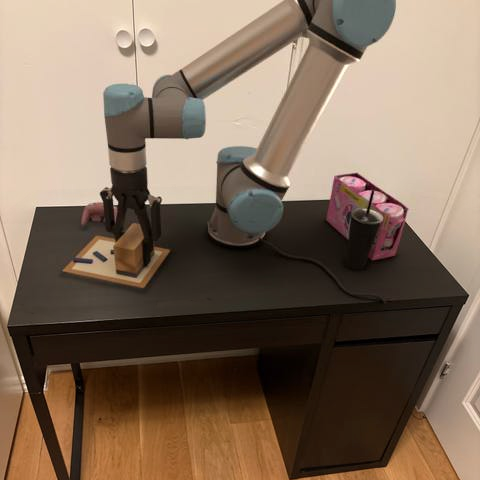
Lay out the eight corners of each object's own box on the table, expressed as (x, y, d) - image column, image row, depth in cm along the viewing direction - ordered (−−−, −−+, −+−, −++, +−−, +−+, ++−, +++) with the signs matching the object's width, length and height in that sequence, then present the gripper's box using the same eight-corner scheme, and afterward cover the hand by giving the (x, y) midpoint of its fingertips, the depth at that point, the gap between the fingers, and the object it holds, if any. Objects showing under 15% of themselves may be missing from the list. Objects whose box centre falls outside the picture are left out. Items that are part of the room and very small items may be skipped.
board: (170, 253, 127) (170, 249, 126) (144, 292, 114) (143, 287, 113) (96, 239, 130) (96, 235, 129) (62, 275, 117) (61, 270, 116)
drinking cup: (372, 260, 130) (391, 187, 117) (368, 276, 124) (388, 201, 112) (342, 253, 132) (358, 181, 119) (337, 268, 126) (353, 194, 113)
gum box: (399, 258, 132) (414, 211, 123) (374, 264, 129) (387, 216, 120) (347, 216, 148) (357, 171, 139) (324, 220, 145) (333, 175, 137)
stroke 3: (129, 251, 124) (129, 248, 124) (129, 253, 124) (129, 251, 123) (110, 251, 124) (110, 249, 123) (110, 254, 123) (110, 252, 122)
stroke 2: (107, 260, 121) (107, 258, 120) (103, 262, 120) (102, 260, 120) (97, 252, 123) (96, 250, 123) (92, 254, 122) (92, 252, 122)
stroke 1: (93, 261, 120) (92, 259, 120) (91, 264, 119) (91, 261, 119) (74, 259, 120) (74, 257, 120) (73, 262, 119) (72, 260, 119)
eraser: (154, 253, 124) (153, 226, 119) (136, 278, 116) (134, 249, 111) (135, 249, 125) (133, 222, 120) (116, 273, 117) (112, 245, 112)
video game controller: (121, 230, 137) (122, 204, 135) (116, 231, 132) (117, 204, 131) (85, 227, 137) (86, 200, 136) (79, 227, 133) (80, 200, 131)
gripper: (175, 166, 107) (177, 260, 121) (96, 153, 109) (107, 246, 124) (163, 180, 101) (166, 277, 116) (79, 166, 104) (93, 262, 118)
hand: (135, 260), depth 120 cm, fingers closed on eraser, 5 cm apart
